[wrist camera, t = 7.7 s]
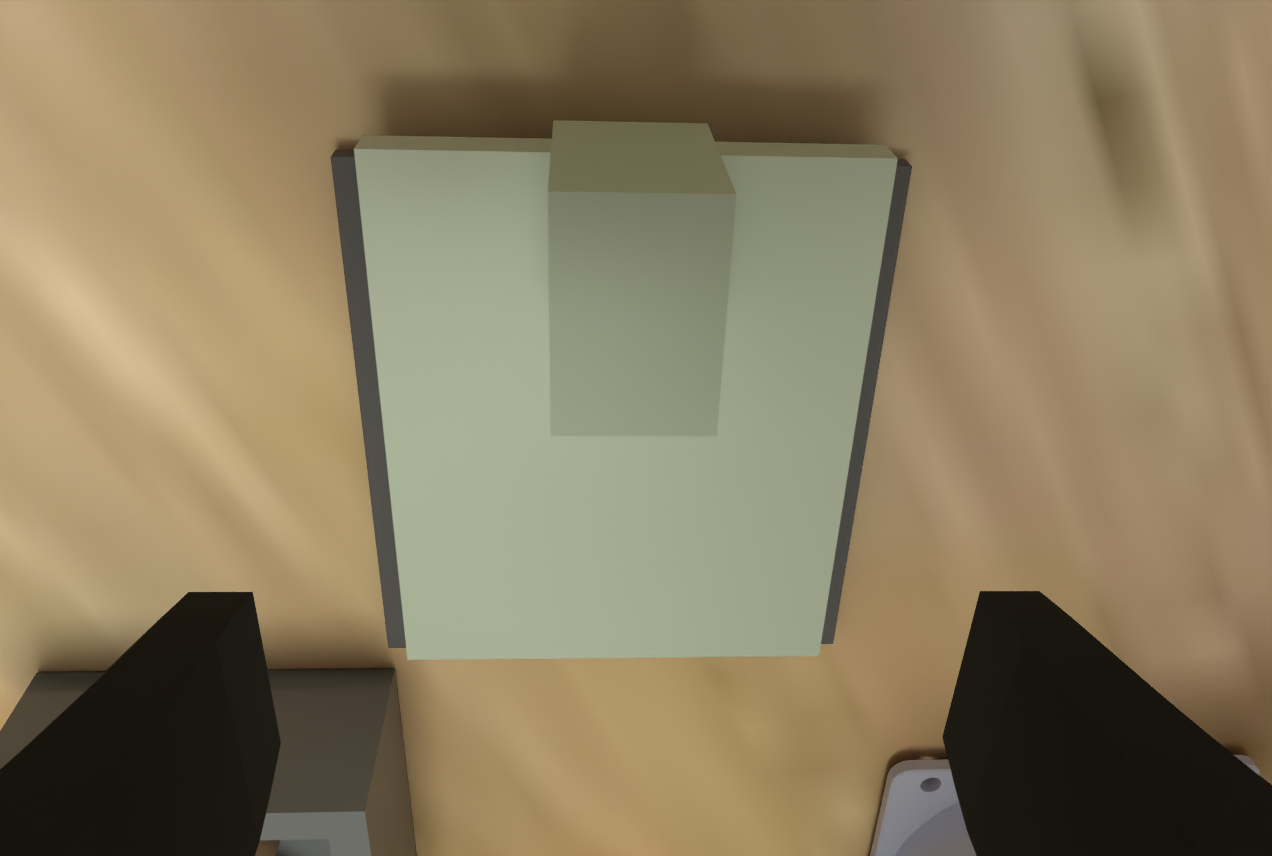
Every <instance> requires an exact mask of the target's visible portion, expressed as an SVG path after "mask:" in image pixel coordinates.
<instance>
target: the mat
mask: <svg viewBox="0 0 1272 856" xmlns="http://www.w3.org/2000/svg"><path fill="white" fill-rule="evenodd" d="M331 163H332V171H333V180H334V189H335V197H336V206H337V214H338V223H339V231H340V240H341V248H342V257H343V265H344V274H345V282H346V291H347V299H348V308H349V316H350V325H351V333H352V342H353V350H354V359H355V367H356V376H357V385H358V393H359V402H360V410H361V419H362V427H363V436H364V444H365V453H366V461H367V470H368V478H369V487H370V495H371V504H372V512H373V521H374V529H375V538H376V546H377V555H378V564H379V572H380V581H381V589H382V598H383V606H384V615H385V623H386V632H387V640H388V648H406V641H405V631H404V622H403V612H402V603H401V593H400V584H399V574H398V565H397V555H396V546H395V536H394V527H393V517H392V508H391V498H390V489H389V479H388V470H387V460H386V451H385V441H384V431H383V422H382V412H381V403H380V393H379V384H378V374H377V365H376V355H375V346H374V336H373V327H372V317H371V308H370V298H369V289H368V279H367V270H366V260H365V251H364V241H363V232H362V222H361V213H360V203H359V193H358V184H357V174H356V165H355V155H354V150H335V152H334V153H333V154H332V156H331ZM911 169H912V166H911V165H910V164H909V163H908V162H907V161H906V160H898V161H897V167H896V173H895V180H894V186H893V192H892V199H891V205H890V211H889V218H888V224H887V230H886V236H885V243H884V249H883V255H882V262H881V268H880V274H879V281H878V287H877V293H876V299H875V306H874V312H873V318H872V325H871V331H870V337H869V344H868V350H867V356H866V362H865V369H864V375H863V381H862V388H861V394H860V400H859V407H858V413H857V419H856V425H855V432H854V438H853V444H852V451H851V457H850V463H849V470H848V476H847V482H846V488H845V495H844V501H843V507H842V514H841V520H840V526H839V533H838V539H837V545H836V551H835V558H834V564H833V570H832V577H831V583H830V589H829V596H828V602H827V608H826V614H825V621H824V627H823V633H822V640H821V644H833V640H834V634H835V628H836V622H837V616H838V610H839V604H840V598H841V592H842V586H843V580H844V574H845V568H846V562H847V556H848V550H849V544H850V538H851V532H852V526H853V519H854V513H855V507H856V501H857V495H858V489H859V483H860V477H861V471H862V465H863V459H864V453H865V447H866V441H867V435H868V429H869V423H870V417H871V411H872V405H873V399H874V393H875V387H876V380H877V374H878V368H879V362H880V356H881V350H882V344H883V338H884V332H885V326H886V320H887V314H888V308H889V302H890V296H891V290H892V284H893V278H894V272H895V266H896V260H897V254H898V248H899V241H900V235H901V229H902V223H903V217H904V211H905V205H906V199H907V193H908V187H909V181H910V175H911Z"/></svg>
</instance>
